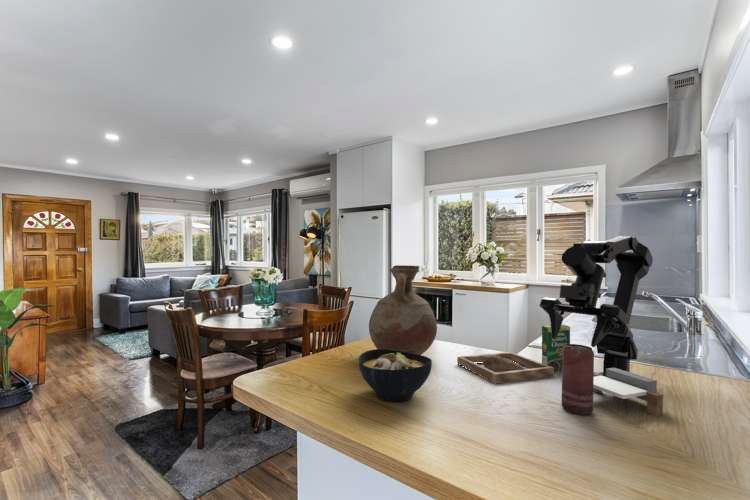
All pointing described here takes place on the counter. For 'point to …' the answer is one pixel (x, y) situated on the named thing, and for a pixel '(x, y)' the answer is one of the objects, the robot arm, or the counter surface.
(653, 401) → the frame
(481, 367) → the wooden tray
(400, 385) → the bowl
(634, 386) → the trapdoor
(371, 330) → the jug
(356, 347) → the counter surface
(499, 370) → the oyster shell
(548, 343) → the coffee box
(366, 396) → the counter surface
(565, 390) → the can
